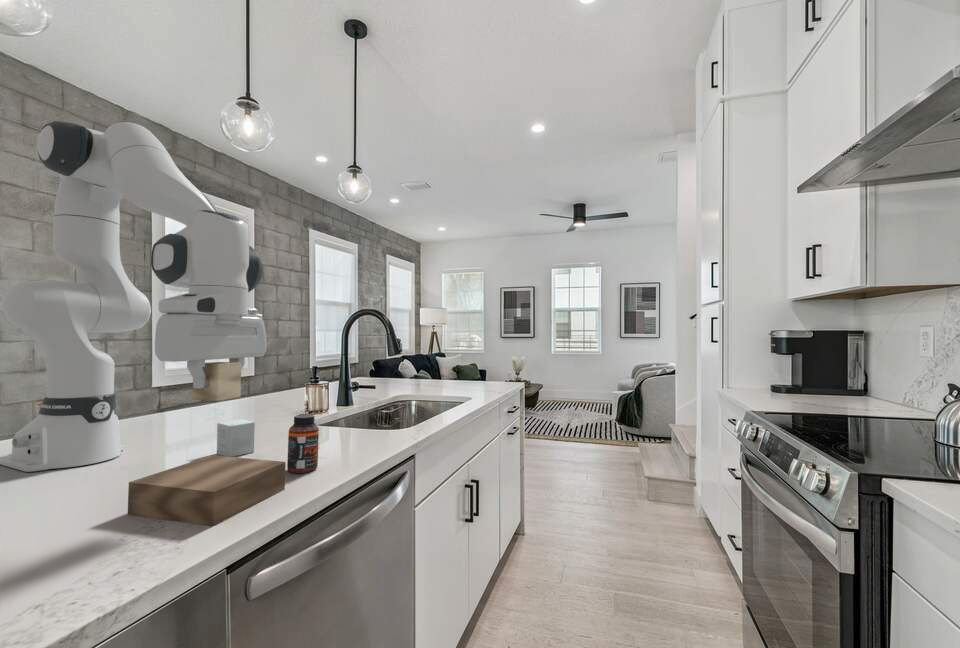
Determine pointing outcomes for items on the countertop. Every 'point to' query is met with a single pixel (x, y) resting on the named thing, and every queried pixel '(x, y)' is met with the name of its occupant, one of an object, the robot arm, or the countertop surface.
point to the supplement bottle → (303, 444)
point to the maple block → (220, 382)
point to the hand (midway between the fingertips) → (217, 385)
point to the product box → (235, 437)
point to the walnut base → (206, 489)
